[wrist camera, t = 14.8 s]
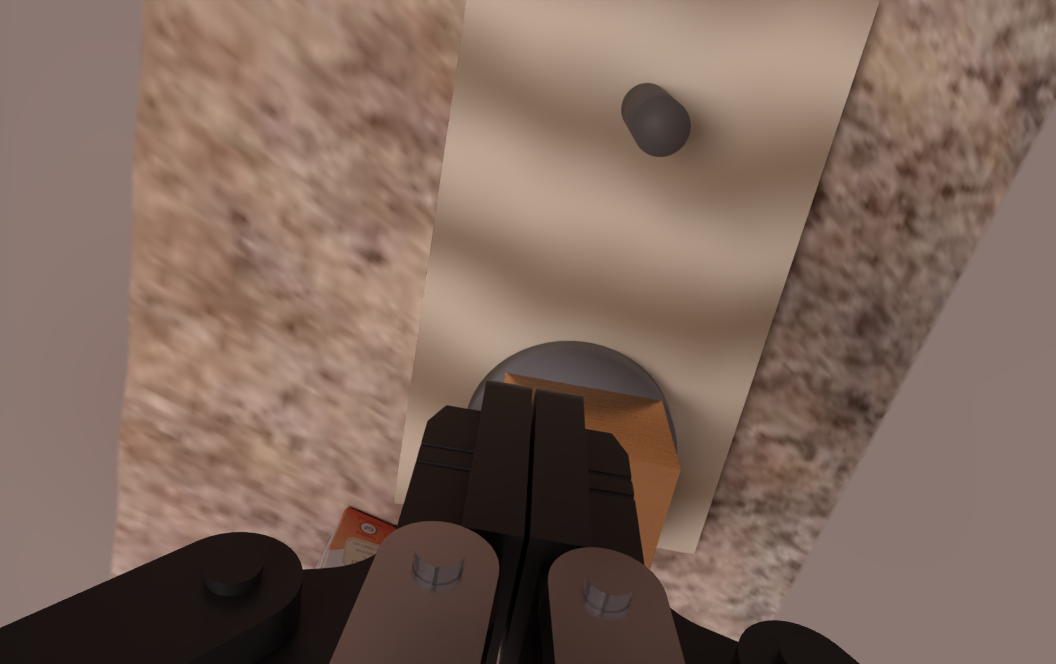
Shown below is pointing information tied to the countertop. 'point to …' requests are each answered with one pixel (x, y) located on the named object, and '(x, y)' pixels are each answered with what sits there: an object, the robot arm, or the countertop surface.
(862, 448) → the countertop surface
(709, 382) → the board
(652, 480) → the hollow wooden cube
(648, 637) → the robot arm
